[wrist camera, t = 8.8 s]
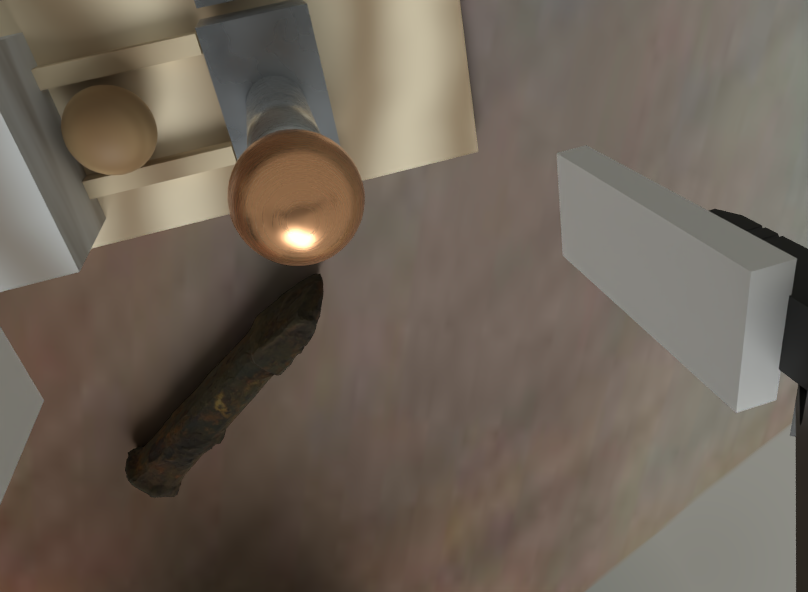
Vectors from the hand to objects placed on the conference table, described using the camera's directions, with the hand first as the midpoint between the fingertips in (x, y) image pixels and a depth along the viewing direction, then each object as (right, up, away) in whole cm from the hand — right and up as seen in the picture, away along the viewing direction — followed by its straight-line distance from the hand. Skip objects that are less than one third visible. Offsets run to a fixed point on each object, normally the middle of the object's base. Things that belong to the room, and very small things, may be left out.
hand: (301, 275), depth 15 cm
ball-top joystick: (-5, +11, +20) cm, 23 cm away
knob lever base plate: (-8, +11, +21) cm, 25 cm away
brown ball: (-13, +9, +19) cm, 25 cm away
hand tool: (-10, -5, +30) cm, 32 cm away
